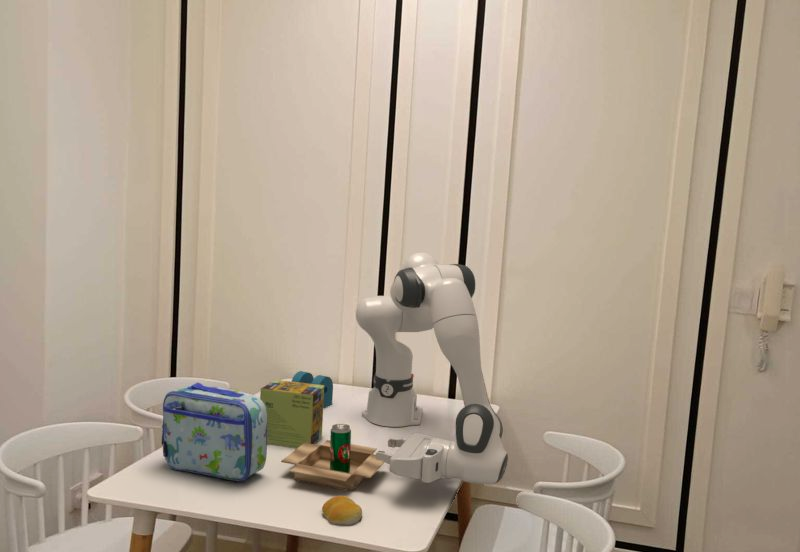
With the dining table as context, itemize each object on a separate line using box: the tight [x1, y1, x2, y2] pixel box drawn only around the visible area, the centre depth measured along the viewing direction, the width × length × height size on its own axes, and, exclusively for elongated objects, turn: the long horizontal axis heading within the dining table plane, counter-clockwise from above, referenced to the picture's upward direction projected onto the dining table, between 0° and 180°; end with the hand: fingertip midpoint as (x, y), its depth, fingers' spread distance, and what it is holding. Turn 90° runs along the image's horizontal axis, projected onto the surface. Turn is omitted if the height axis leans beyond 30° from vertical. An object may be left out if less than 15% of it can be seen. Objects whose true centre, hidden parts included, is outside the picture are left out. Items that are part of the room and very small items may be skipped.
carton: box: [280, 439, 385, 492], centre depth 179 cm, size 23×23×4 cm
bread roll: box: [321, 495, 363, 526], centre depth 157 cm, size 8×9×4 cm
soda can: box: [329, 423, 352, 473], centre depth 179 cm, size 5×5×12 cm
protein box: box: [259, 379, 324, 449], centre depth 201 cm, size 10×15×16 cm
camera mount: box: [290, 370, 334, 409], centre depth 230 cm, size 18×10×10 cm, turn 152°
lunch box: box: [161, 382, 268, 482], centre depth 176 cm, size 26×11×21 cm, turn 68°
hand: (382, 448), depth 175 cm, fingers open, 8 cm apart
